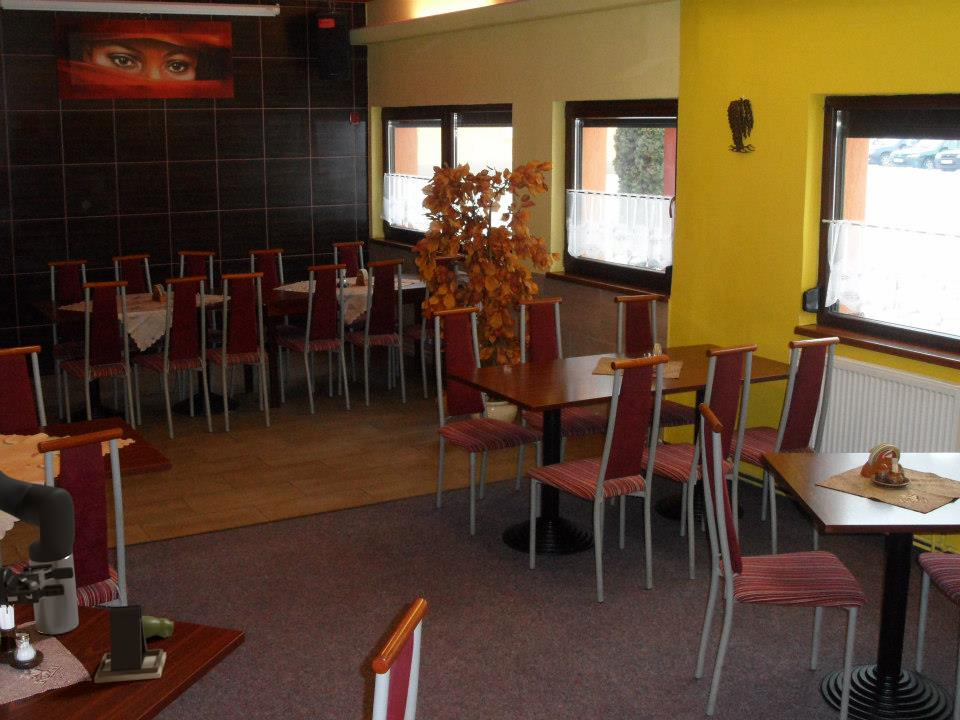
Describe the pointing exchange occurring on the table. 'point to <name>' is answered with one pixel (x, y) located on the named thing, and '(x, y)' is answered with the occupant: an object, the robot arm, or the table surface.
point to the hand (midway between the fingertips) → (68, 580)
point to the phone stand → (127, 638)
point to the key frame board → (148, 671)
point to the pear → (157, 626)
